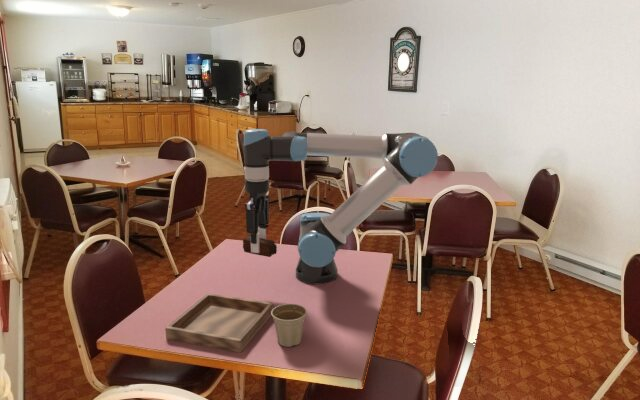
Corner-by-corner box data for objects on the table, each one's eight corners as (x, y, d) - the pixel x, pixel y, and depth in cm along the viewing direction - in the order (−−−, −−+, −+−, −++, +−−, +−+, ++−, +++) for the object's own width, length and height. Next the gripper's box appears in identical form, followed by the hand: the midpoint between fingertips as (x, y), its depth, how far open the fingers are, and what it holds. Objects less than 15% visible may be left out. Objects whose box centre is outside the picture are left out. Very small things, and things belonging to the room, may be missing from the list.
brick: (242, 252, 149) (242, 239, 148) (249, 248, 153) (249, 235, 152) (270, 258, 145) (270, 244, 144) (277, 254, 149) (277, 240, 147)
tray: (273, 313, 138) (273, 303, 137) (240, 352, 117) (239, 341, 117) (208, 303, 144) (207, 293, 143) (166, 338, 123) (165, 327, 123)
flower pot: (272, 332, 127) (271, 303, 125) (305, 331, 128) (305, 302, 126) (271, 351, 118) (270, 321, 116) (307, 350, 119) (307, 319, 117)
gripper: (257, 173, 152) (259, 240, 158) (232, 183, 136) (235, 257, 142) (278, 175, 150) (279, 242, 156) (255, 185, 134) (257, 260, 140)
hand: (258, 249), depth 149 cm, fingers closed on brick, 4 cm apart
